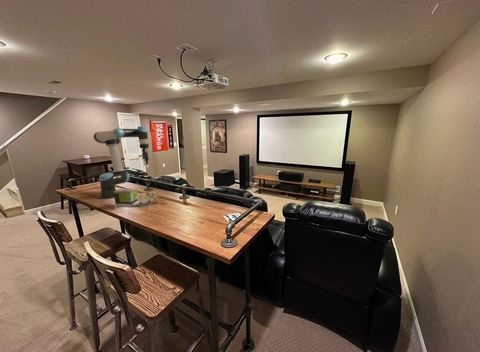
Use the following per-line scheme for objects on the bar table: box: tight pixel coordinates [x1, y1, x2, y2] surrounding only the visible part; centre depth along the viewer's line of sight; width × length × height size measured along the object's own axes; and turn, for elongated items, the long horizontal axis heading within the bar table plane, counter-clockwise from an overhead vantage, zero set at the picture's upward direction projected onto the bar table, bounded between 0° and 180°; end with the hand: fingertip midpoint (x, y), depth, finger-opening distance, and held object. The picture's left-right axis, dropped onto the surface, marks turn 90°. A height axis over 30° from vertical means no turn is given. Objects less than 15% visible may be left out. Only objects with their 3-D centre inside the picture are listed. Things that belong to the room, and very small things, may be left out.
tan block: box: [139, 192, 148, 205], centre depth 166 cm, size 4×4×10 cm
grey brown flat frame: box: [138, 199, 160, 208], centre depth 169 cm, size 9×15×3 cm, turn 123°
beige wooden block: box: [149, 191, 157, 203], centre depth 170 cm, size 4×4×10 cm
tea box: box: [113, 187, 139, 208], centre depth 168 cm, size 15×10×15 cm, turn 84°
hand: (146, 166), depth 181 cm, fingers open, 13 cm apart
